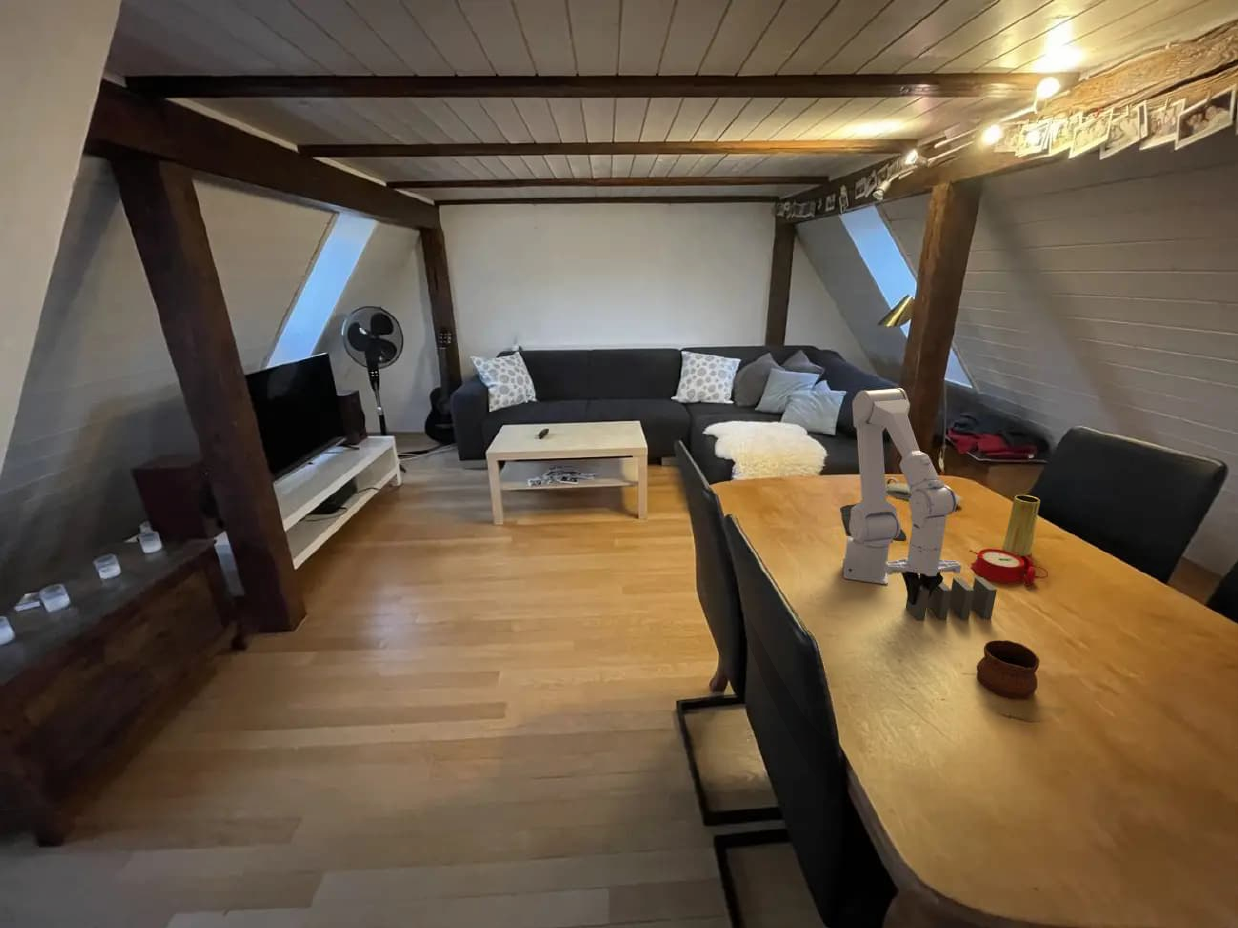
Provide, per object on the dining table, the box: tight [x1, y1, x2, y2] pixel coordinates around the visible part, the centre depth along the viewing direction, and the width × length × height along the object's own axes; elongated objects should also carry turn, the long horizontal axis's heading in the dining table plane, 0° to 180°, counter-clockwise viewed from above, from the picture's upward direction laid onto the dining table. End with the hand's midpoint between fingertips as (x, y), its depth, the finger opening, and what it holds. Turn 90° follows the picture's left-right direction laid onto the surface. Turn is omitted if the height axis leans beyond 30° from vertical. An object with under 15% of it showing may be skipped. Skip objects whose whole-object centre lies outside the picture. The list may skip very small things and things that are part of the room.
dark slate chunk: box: [839, 502, 907, 542], centre depth 162 cm, size 15×22×5 cm
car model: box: [885, 476, 963, 504], centre depth 178 cm, size 11×24×5 cm, turn 42°
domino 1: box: [927, 581, 952, 621], centre depth 119 cm, size 2×5×7 cm, turn 179°
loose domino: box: [905, 583, 929, 622], centre depth 119 cm, size 2×5×7 cm, turn 179°
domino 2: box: [949, 577, 974, 621], centre depth 119 cm, size 2×5×7 cm, turn 179°
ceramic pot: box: [976, 639, 1047, 723], centre depth 99 cm, size 18×18×7 cm
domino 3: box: [971, 576, 998, 621], centre depth 119 cm, size 2×5×7 cm, turn 179°
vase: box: [1001, 494, 1041, 557], centre depth 143 cm, size 6×6×14 cm
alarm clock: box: [969, 548, 1049, 586], centre depth 134 cm, size 10×6×15 cm
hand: (916, 602), depth 120 cm, fingers closed on loose domino
